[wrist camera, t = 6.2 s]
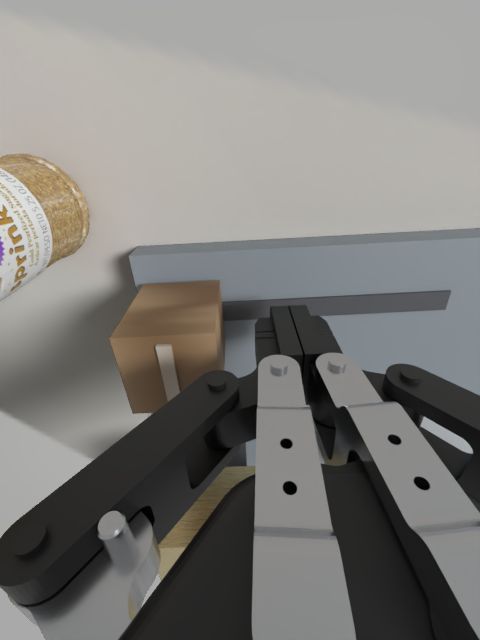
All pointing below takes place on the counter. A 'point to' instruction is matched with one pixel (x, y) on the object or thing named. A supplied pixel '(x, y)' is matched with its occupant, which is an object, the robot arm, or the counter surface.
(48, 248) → the sprinkles bottle
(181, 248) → the board
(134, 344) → the walnut fader
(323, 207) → the counter surface
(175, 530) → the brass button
